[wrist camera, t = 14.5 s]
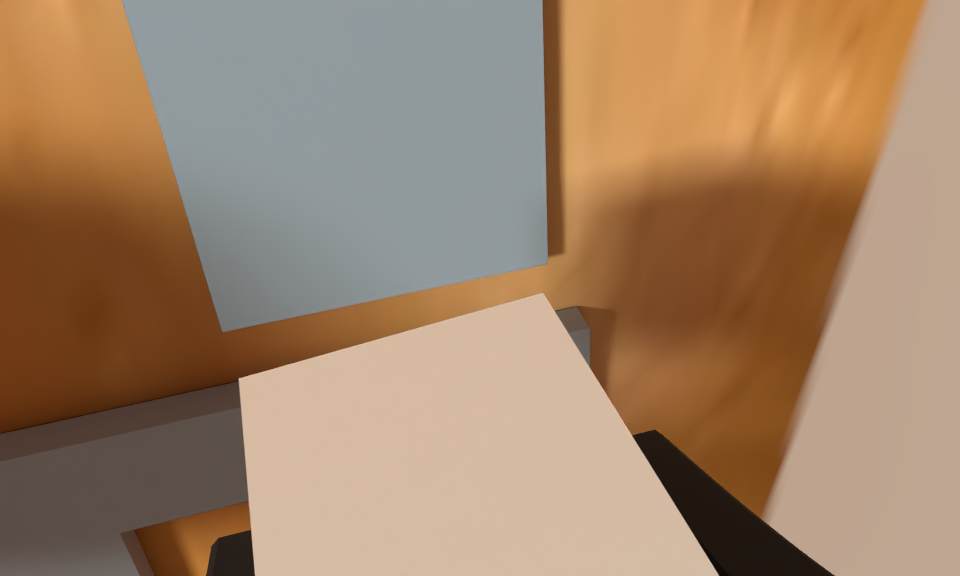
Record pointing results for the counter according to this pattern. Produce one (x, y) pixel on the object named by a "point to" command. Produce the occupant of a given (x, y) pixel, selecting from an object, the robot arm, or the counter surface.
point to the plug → (454, 460)
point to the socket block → (129, 477)
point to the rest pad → (349, 144)
